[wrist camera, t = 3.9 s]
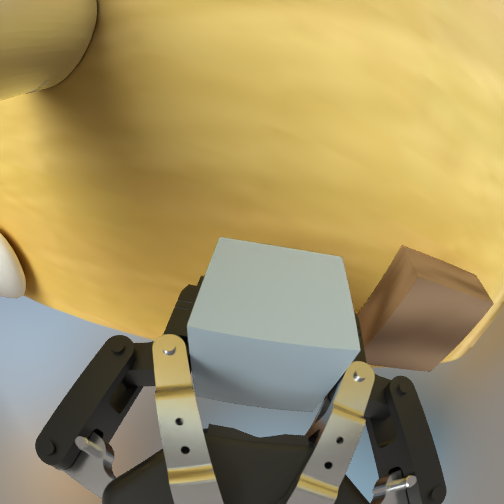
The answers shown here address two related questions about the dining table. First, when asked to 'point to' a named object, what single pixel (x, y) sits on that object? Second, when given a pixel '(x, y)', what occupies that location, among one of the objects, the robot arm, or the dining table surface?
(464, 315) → the walnut base block
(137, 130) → the dining table surface
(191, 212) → the dining table surface
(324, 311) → the slate block
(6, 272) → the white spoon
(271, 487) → the robot arm
